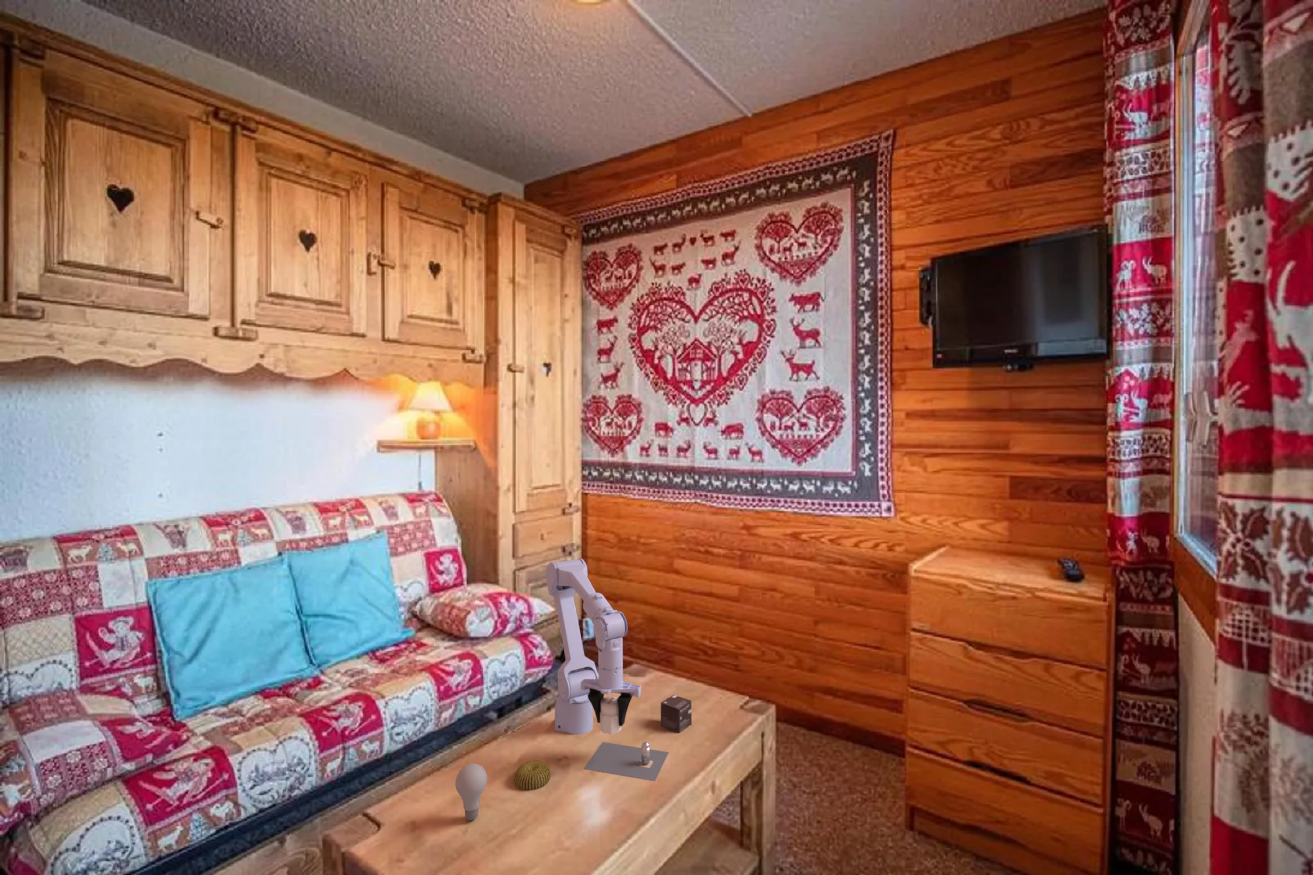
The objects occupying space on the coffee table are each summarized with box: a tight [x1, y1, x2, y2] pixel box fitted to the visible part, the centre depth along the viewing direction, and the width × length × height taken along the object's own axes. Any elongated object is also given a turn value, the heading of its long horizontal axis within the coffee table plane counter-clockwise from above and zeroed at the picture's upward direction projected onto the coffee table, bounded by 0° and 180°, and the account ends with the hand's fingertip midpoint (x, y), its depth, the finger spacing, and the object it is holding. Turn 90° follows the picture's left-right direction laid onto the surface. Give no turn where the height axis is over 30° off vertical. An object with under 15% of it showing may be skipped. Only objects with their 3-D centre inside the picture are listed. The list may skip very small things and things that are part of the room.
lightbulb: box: [454, 763, 488, 821], centre depth 121 cm, size 6×6×11 cm
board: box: [583, 741, 670, 782], centre depth 140 cm, size 17×12×1 cm
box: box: [660, 694, 693, 734], centre depth 156 cm, size 6×6×7 cm
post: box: [640, 741, 651, 765], centre depth 139 cm, size 2×2×5 cm
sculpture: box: [513, 760, 552, 791], centre depth 133 cm, size 8×4×8 cm
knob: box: [599, 696, 623, 735], centre depth 141 cm, size 5×5×7 cm
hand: (610, 722), depth 141 cm, fingers closed on knob, 5 cm apart
